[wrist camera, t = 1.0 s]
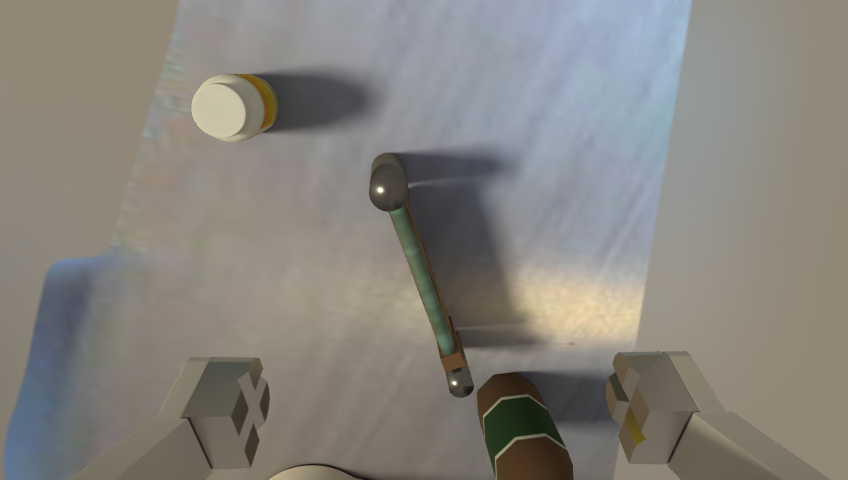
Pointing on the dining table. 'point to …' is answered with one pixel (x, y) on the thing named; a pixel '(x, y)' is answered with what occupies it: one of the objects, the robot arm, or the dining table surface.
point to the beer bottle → (520, 431)
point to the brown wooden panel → (427, 288)
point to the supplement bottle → (235, 106)
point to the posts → (391, 196)
